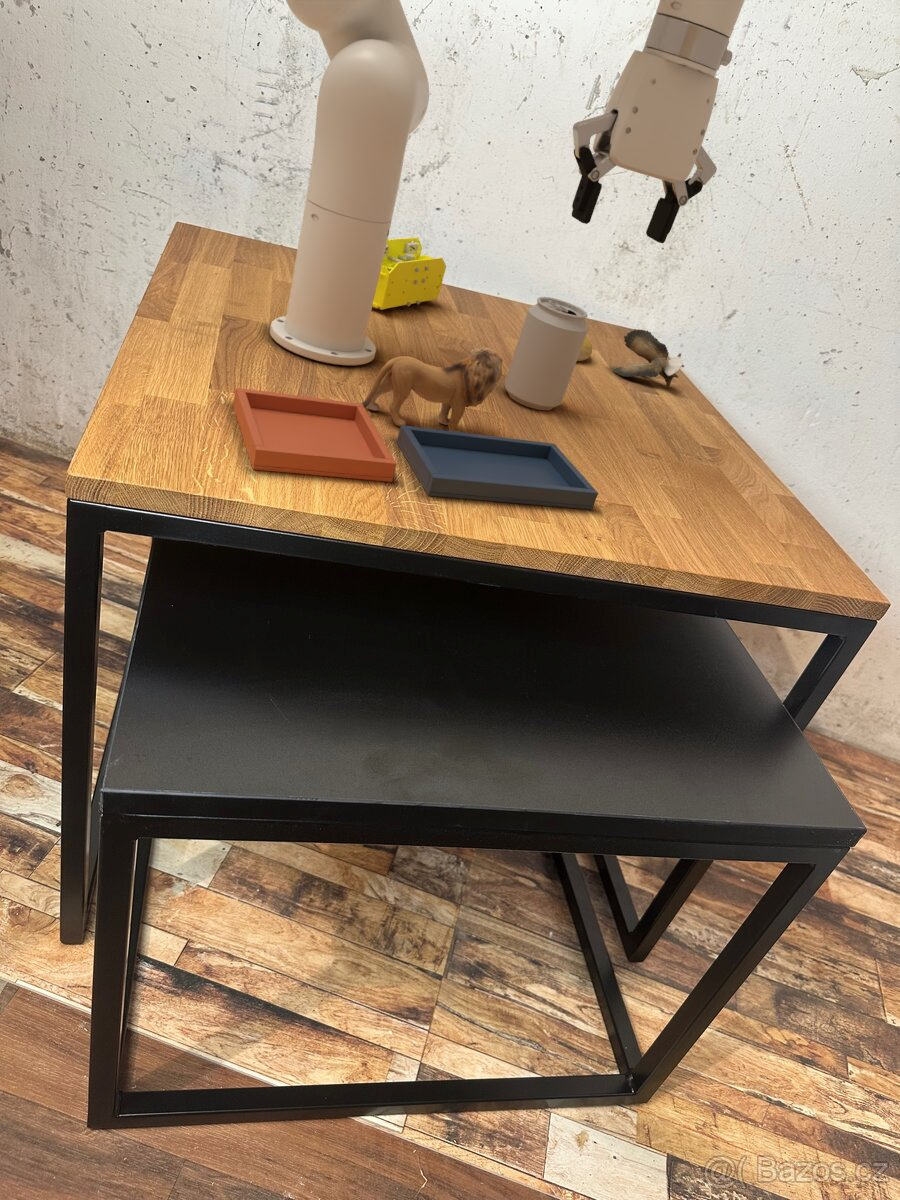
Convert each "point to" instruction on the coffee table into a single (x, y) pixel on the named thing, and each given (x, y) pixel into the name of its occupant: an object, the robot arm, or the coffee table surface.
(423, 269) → the yellow toy chassis
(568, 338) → the can
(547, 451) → the slate tray
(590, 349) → the bread roll
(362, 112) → the robot arm
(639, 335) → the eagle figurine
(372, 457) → the terracotta tray
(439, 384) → the lion figurine
